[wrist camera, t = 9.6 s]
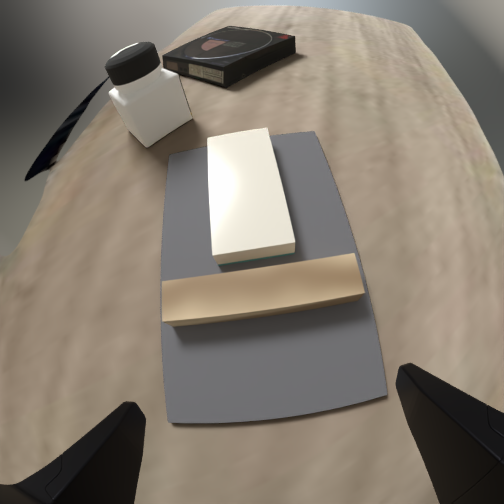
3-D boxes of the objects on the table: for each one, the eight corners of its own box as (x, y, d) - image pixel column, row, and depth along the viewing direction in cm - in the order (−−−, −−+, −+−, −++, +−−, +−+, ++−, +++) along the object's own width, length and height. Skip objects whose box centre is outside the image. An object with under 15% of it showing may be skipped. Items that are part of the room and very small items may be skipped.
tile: (295, 242, 19) (267, 127, 25) (212, 255, 20) (207, 137, 25) (294, 254, 21) (268, 141, 27) (218, 266, 21) (211, 151, 27)
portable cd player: (165, 74, 40) (159, 57, 37) (231, 41, 44) (229, 25, 41) (225, 91, 34) (220, 68, 31) (295, 54, 38) (295, 36, 35)
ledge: (357, 300, 19) (365, 292, 17) (172, 326, 20) (162, 321, 18) (348, 263, 20) (354, 252, 19) (171, 289, 21) (161, 281, 19)
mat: (385, 394, 16) (387, 394, 16) (170, 421, 17) (168, 422, 16) (313, 134, 27) (314, 131, 27) (170, 157, 28) (169, 154, 28)
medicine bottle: (194, 118, 31) (168, 38, 20) (147, 149, 30) (106, 70, 19) (169, 103, 34) (143, 35, 23) (127, 129, 32) (92, 63, 22)
